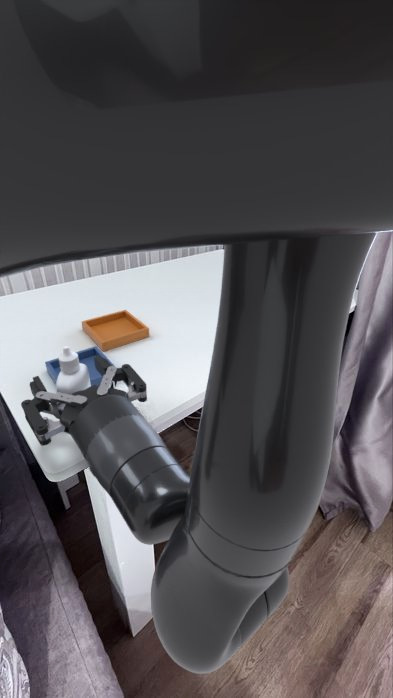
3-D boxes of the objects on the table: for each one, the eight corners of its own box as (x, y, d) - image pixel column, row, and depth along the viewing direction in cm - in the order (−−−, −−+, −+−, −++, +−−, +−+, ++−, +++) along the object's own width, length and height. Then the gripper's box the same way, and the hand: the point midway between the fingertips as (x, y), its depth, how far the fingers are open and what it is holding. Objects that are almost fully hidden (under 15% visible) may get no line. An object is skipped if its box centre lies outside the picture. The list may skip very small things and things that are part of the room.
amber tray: (103, 351, 63) (102, 343, 62) (82, 329, 70) (81, 321, 69) (149, 336, 69) (149, 328, 68) (126, 317, 75) (125, 309, 74)
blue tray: (65, 400, 51) (63, 390, 50) (47, 371, 57) (44, 362, 56) (119, 379, 56) (118, 370, 55) (97, 354, 62) (96, 345, 61)
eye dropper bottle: (54, 419, 48) (36, 350, 42) (86, 399, 52) (74, 333, 45) (73, 433, 46) (57, 363, 39) (105, 411, 50) (95, 344, 43)
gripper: (175, 394, 37) (112, 333, 48) (46, 453, 30) (4, 366, 41) (175, 439, 42) (117, 374, 52) (61, 502, 34) (19, 411, 45)
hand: (67, 371), depth 46 cm, fingers open, 8 cm apart
